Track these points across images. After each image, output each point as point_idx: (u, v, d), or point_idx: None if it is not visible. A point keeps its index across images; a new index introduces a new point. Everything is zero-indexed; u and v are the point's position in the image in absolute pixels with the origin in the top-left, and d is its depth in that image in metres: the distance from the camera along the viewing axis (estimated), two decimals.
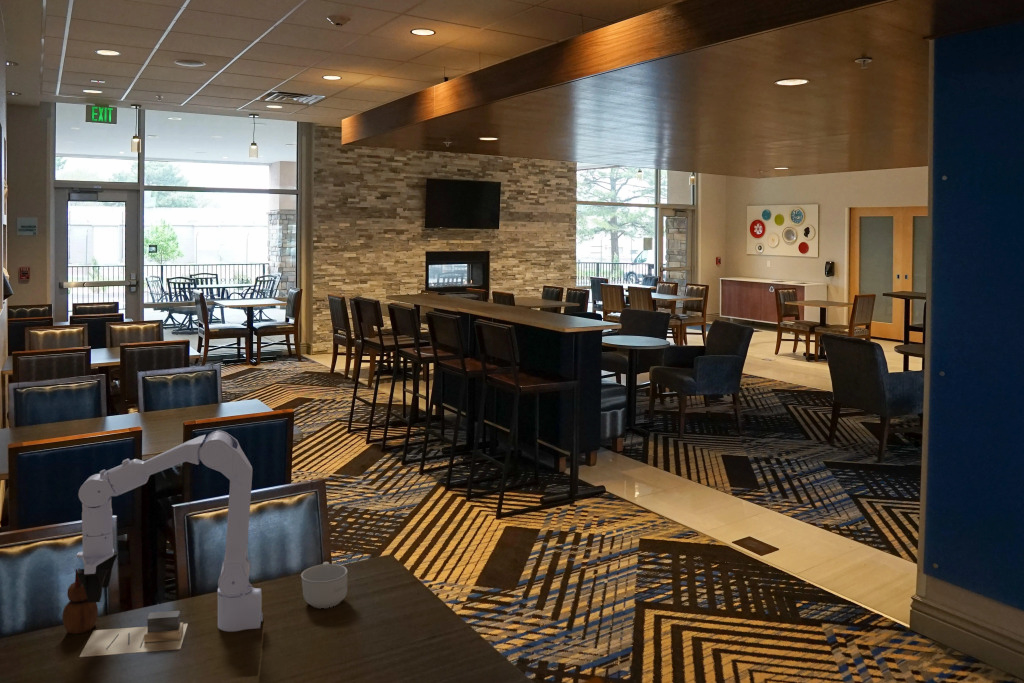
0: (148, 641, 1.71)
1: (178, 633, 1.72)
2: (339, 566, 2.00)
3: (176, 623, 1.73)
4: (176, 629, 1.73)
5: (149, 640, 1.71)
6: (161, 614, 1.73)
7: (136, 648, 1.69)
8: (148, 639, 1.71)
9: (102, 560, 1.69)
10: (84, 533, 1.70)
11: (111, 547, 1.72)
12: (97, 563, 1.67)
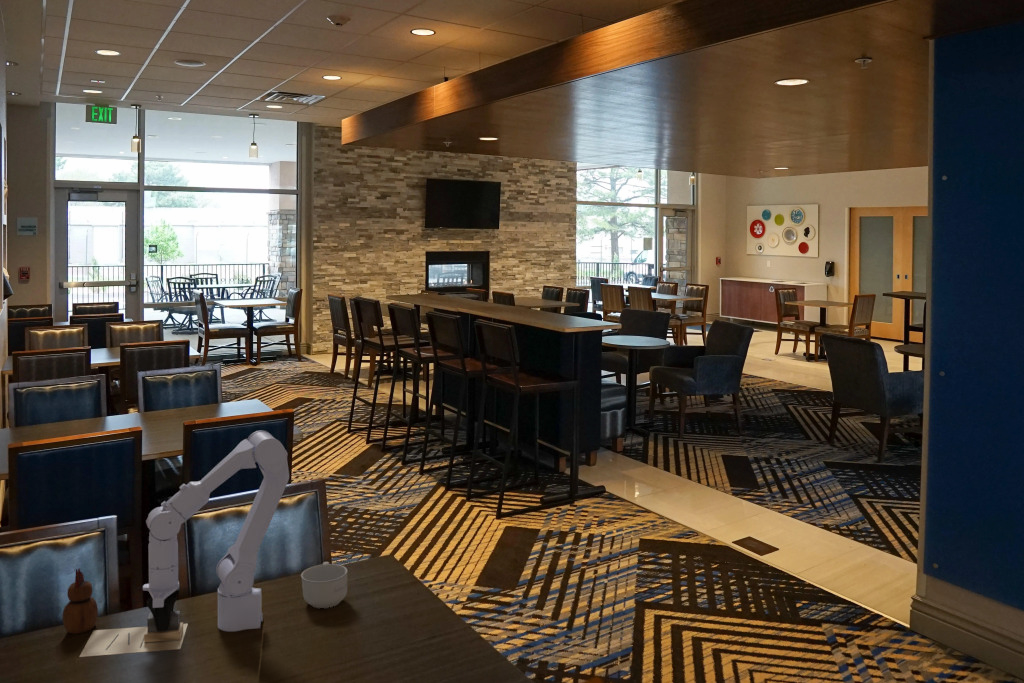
0: (148, 641, 1.71)
1: (178, 633, 1.72)
2: (339, 566, 2.00)
3: (176, 623, 1.73)
4: (176, 629, 1.73)
5: (149, 640, 1.71)
6: None
7: (136, 648, 1.69)
8: (148, 639, 1.71)
9: (169, 593, 1.69)
10: (154, 567, 1.70)
11: (177, 579, 1.73)
12: (165, 596, 1.67)
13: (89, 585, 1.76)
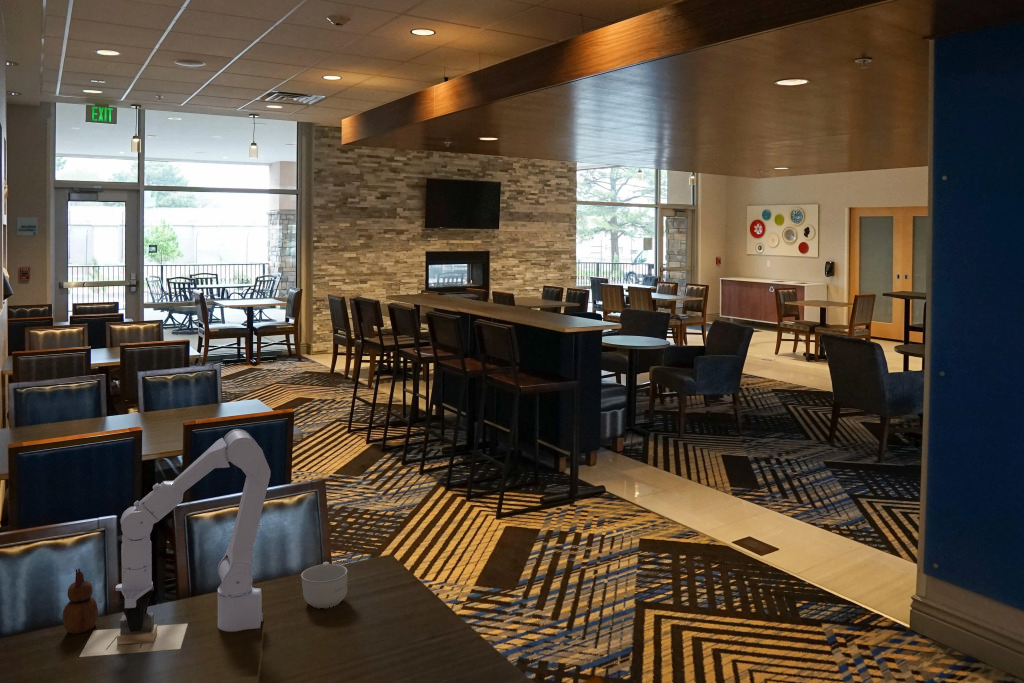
0: (121, 643, 1.70)
1: (151, 635, 1.71)
2: (339, 566, 2.00)
3: (149, 625, 1.71)
4: (149, 631, 1.72)
5: (122, 642, 1.70)
6: None
7: (136, 648, 1.69)
8: (121, 641, 1.70)
9: (142, 593, 1.68)
10: (125, 566, 1.68)
11: (150, 579, 1.71)
12: (137, 597, 1.66)
13: (89, 585, 1.76)
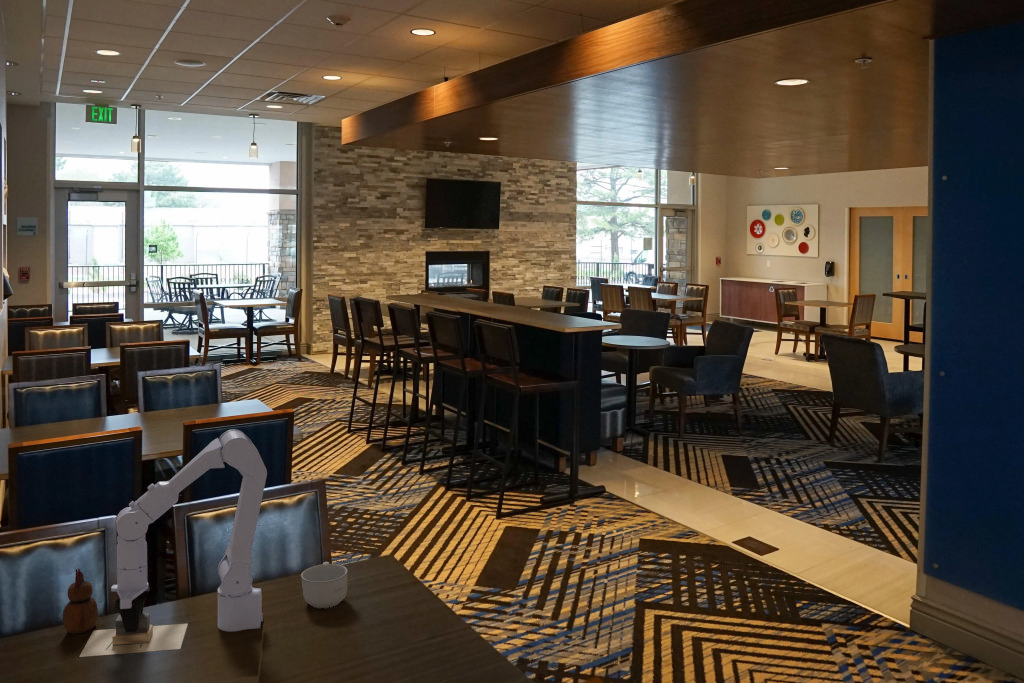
0: (116, 643, 1.69)
1: (147, 635, 1.71)
2: (339, 566, 2.00)
3: (145, 625, 1.71)
4: (145, 631, 1.71)
5: (117, 642, 1.69)
6: None
7: (136, 648, 1.69)
8: (116, 641, 1.69)
9: (137, 594, 1.68)
10: (121, 567, 1.68)
11: (146, 580, 1.71)
12: (133, 597, 1.66)
13: (89, 585, 1.76)
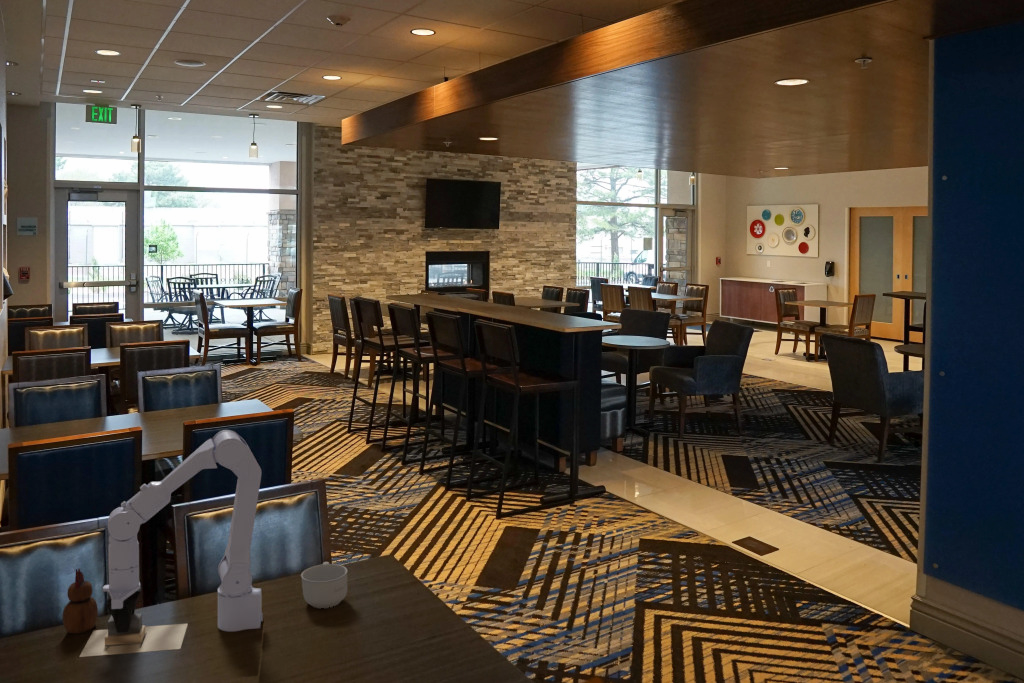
0: (108, 644, 1.69)
1: (139, 636, 1.70)
2: (339, 566, 2.00)
3: (137, 626, 1.71)
4: (137, 632, 1.71)
5: (109, 643, 1.69)
6: None
7: (136, 648, 1.69)
8: (108, 642, 1.69)
9: (129, 594, 1.67)
10: (112, 567, 1.68)
11: (137, 580, 1.71)
12: (124, 597, 1.66)
13: (89, 585, 1.76)
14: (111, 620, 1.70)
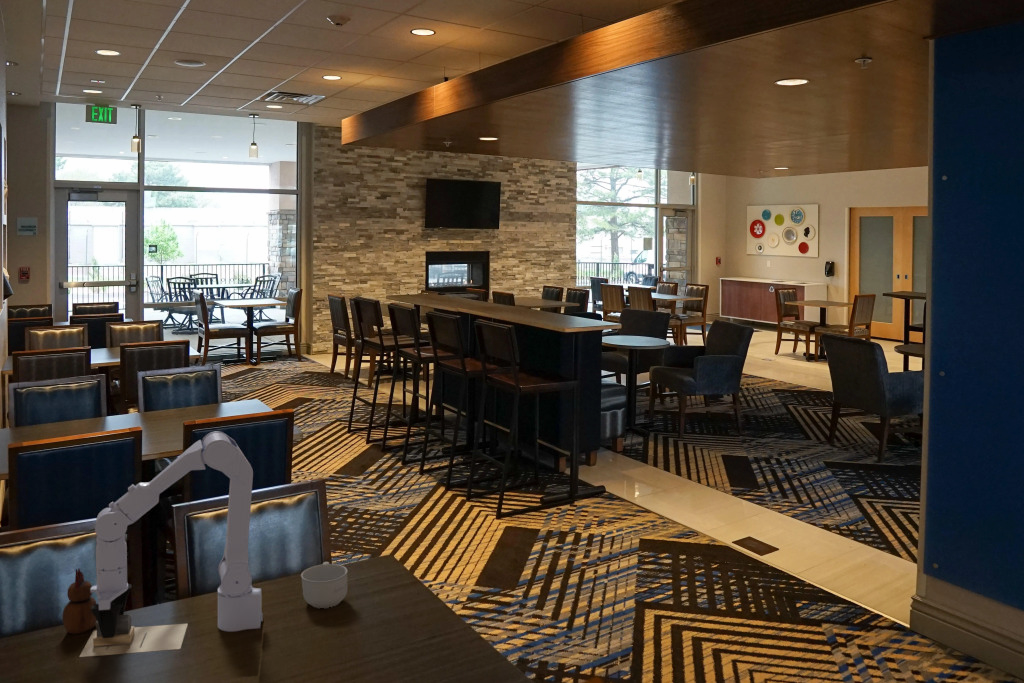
0: (97, 645, 1.69)
1: (128, 637, 1.70)
2: (339, 566, 2.00)
3: (126, 627, 1.70)
4: (126, 633, 1.70)
5: (98, 644, 1.69)
6: None
7: (136, 648, 1.69)
8: (97, 643, 1.68)
9: (116, 595, 1.67)
10: (100, 568, 1.67)
11: (125, 581, 1.70)
12: (112, 598, 1.65)
13: (89, 585, 1.76)
14: None
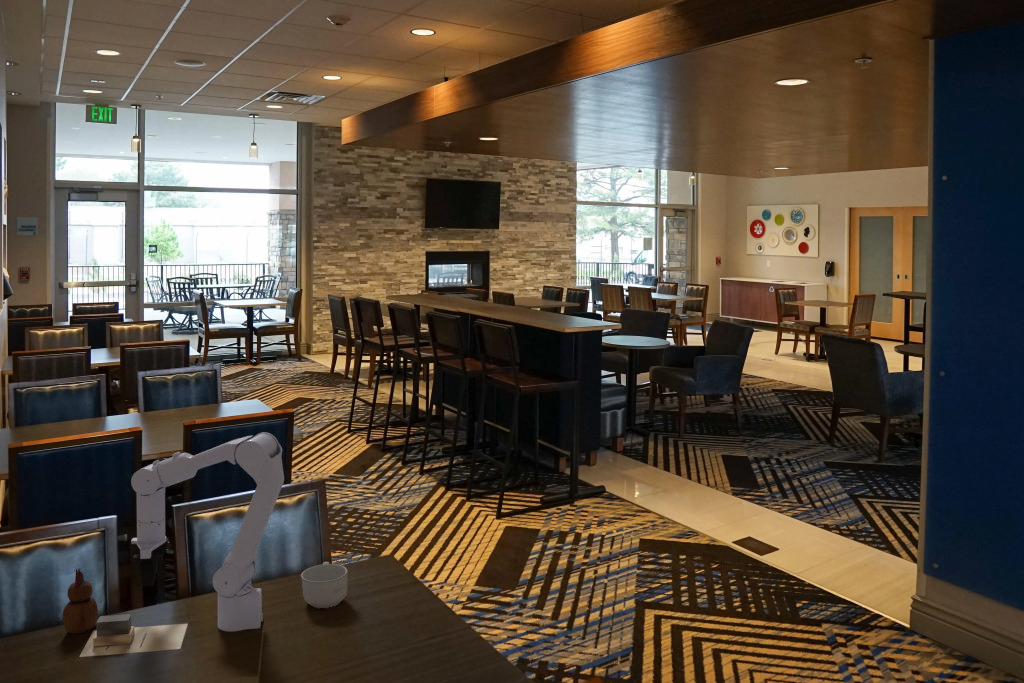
0: (97, 645, 1.69)
1: (128, 637, 1.70)
2: (339, 566, 2.00)
3: (126, 627, 1.70)
4: (126, 633, 1.70)
5: (98, 644, 1.69)
6: (111, 618, 1.71)
7: (136, 648, 1.69)
8: (97, 643, 1.68)
9: (156, 546, 1.77)
10: (137, 519, 1.78)
11: (164, 533, 1.81)
12: (152, 548, 1.75)
13: (89, 585, 1.76)
14: (100, 621, 1.69)
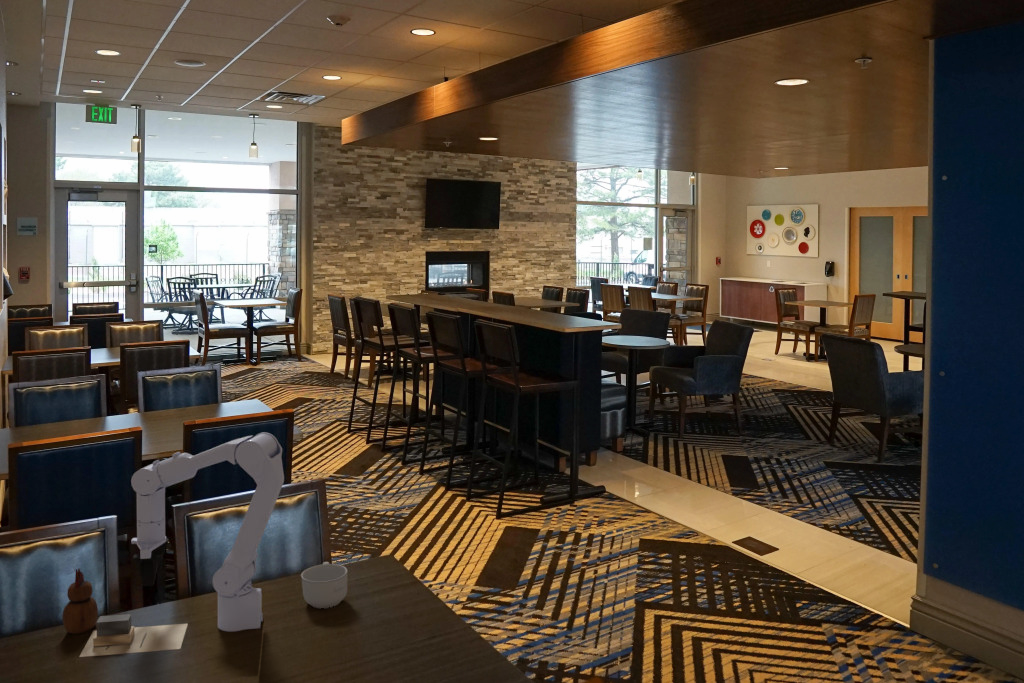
0: (97, 645, 1.69)
1: (128, 637, 1.70)
2: (339, 566, 2.00)
3: (126, 627, 1.70)
4: (126, 633, 1.70)
5: (98, 644, 1.69)
6: (111, 618, 1.71)
7: (136, 648, 1.69)
8: (97, 643, 1.68)
9: (156, 546, 1.77)
10: (137, 519, 1.78)
11: (164, 533, 1.81)
12: (152, 548, 1.75)
13: (89, 585, 1.76)
14: (100, 621, 1.69)
